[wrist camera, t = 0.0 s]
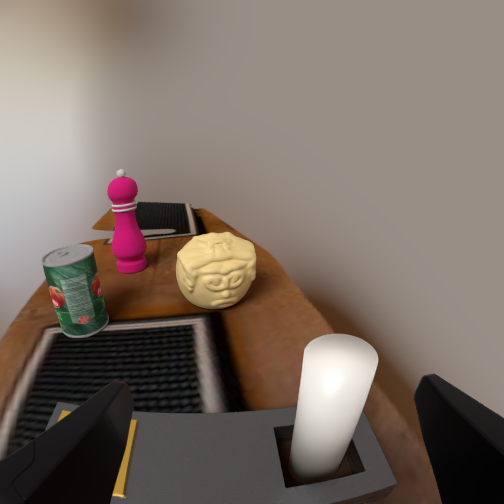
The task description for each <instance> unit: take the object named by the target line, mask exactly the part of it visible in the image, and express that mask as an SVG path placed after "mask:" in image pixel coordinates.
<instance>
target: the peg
mask: <svg viewBox="0 0 504 504" xmlns="http://www.w3.org/2000/svg"><path fill="white" fill-rule="evenodd" d="M377 365H378V355H377V353H376V351H375V349H374V348H373V347H372V346H371V345H370V344H368V343H367V342H365V341H364V340H362V339H360V338H357V337H354V336H351V335H346V334H329V335H324V336H321V337H318V338H316V339H314V340H312V341H311V342H310V343H309V344H308V345H307V346H306V348H305V351H304V358H303V366H302V374H301V382H300V390H299V397H298V404H297V411H296V418H295V425H294V431H293V437H292V443H291V449H290V455H289V461H288V470H289V472H290V474H291V475H292V477H293V478H294V479H296V480H297V481H299V482H301V483H304V484H308V485H309V484H314V483H319V482H324V481H329V480H330V479H331V478H332V477H334V475H335V474H336V472H337V470H338V468H339V466H340V464H341V461H342V459H343V457H344V455H345V452H346V450H347V448H348V445H349V443H350V441H351V438H352V436H353V433H354V431H355V428H356V426H357V423H358V421H359V418H360V415H361V413H362V410H363V407H364V404H365V402H366V399H367V396H368V393H369V390H370V387H371V384H372V381H373V378H374V375H375V371H376V368H377Z"/></svg>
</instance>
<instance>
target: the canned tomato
mask: <svg viewBox="0 0 504 504" xmlns="http://www.w3.org/2000/svg"><path fill="white" fill-rule="evenodd" d="M42 264H43V268H44V272H45V276H46V280H47V283H48V287H49V291H50V294H51V297H52V301H53V304H54V307H55V311H56V313H57V316H58V320H59V322H60V325H61V329H62V331H63V333H64V334H65V335H67V336H69V337H72V338H84V337H89V336H92V335H94V334H96V333H98V332H100V331H101V330H103V329H104V328H105V327H106V325H107V324H108V322H109V316H108V314H107V310H106V306H105V302H104V298H103V294H102V290H101V285H100V281H99V276H98V271H97V266H96V261H95V257H94V249H93V247H92V246H90V245H85V244H78V245H70V246H65V247H62V248H58V249H56V250H53V251H51V252H49V253H48V254H46V255H45V256H44V257H43V258H42Z"/></svg>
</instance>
